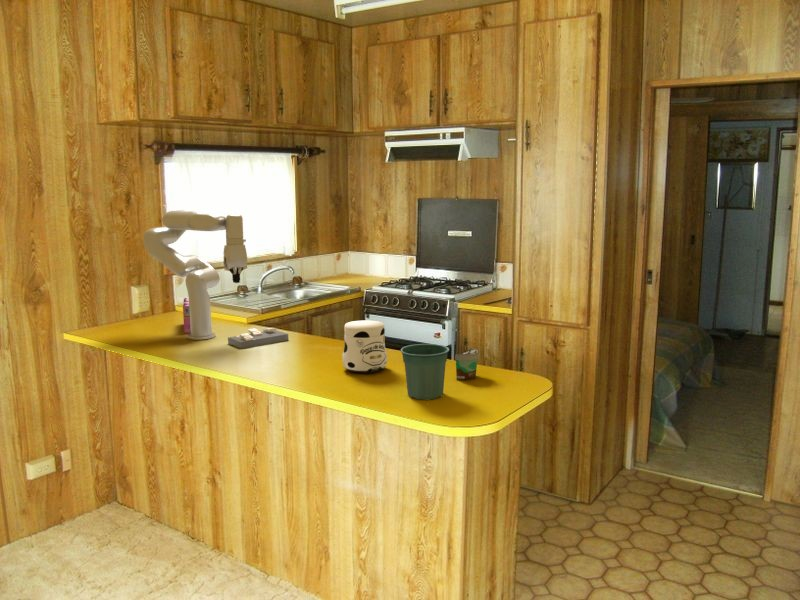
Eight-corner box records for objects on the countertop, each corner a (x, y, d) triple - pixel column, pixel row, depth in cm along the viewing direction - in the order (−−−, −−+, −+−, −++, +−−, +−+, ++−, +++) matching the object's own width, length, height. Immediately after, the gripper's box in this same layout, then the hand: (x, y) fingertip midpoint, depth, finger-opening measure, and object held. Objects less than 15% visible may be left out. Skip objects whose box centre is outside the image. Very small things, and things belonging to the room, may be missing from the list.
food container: (469, 383, 256) (470, 356, 254) (454, 381, 259) (454, 354, 258) (484, 375, 266) (485, 349, 265) (469, 373, 270) (470, 347, 268)
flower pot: (391, 397, 241) (391, 351, 238) (416, 385, 255) (416, 341, 252) (434, 405, 232) (434, 357, 230) (457, 392, 246) (457, 346, 243)
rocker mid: (248, 331, 325) (248, 328, 325) (255, 330, 327) (255, 327, 327) (254, 337, 321) (254, 333, 320) (261, 335, 323) (261, 332, 323)
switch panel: (228, 343, 319) (227, 336, 319) (275, 335, 334) (274, 329, 334) (240, 348, 310) (240, 341, 310) (288, 340, 325) (288, 333, 325)
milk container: (377, 377, 264) (376, 330, 261) (335, 373, 270) (334, 327, 267) (393, 366, 280) (393, 321, 277) (353, 362, 286) (352, 318, 283)
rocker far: (263, 332, 330) (262, 328, 330) (270, 331, 332) (269, 327, 332) (269, 332, 325) (269, 328, 325) (276, 330, 328) (275, 327, 327)
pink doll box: (185, 323, 364) (183, 297, 362) (201, 322, 366) (199, 296, 364) (184, 333, 342) (182, 305, 339) (201, 332, 344) (199, 304, 341)
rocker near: (239, 336, 316) (239, 333, 315) (246, 335, 318) (247, 332, 318) (246, 341, 312) (246, 338, 311) (253, 340, 314) (253, 336, 313)
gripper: (245, 240, 326) (247, 280, 329) (215, 242, 316) (217, 283, 319) (253, 241, 320) (255, 281, 323) (223, 243, 310) (225, 285, 314)
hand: (236, 282), depth 321 cm, fingers closed
